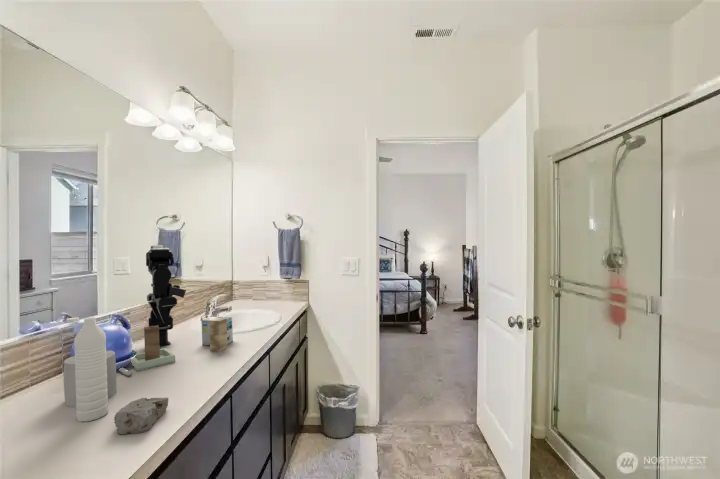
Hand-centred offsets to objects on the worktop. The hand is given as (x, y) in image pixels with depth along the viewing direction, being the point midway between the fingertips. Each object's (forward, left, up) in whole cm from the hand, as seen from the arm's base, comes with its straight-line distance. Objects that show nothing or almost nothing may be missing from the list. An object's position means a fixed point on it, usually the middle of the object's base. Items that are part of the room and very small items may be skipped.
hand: (162, 321), depth 139 cm
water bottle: (+39, -27, -13) cm, 49 cm away
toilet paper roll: (+26, -25, -13) cm, 38 cm away
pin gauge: (+12, -15, -13) cm, 23 cm away
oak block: (+9, +18, -13) cm, 24 cm away
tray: (+6, -5, -13) cm, 15 cm away
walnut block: (+6, -5, -12) cm, 15 cm away
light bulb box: (0, +21, -13) cm, 25 cm away
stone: (+52, -18, -14) cm, 57 cm away
